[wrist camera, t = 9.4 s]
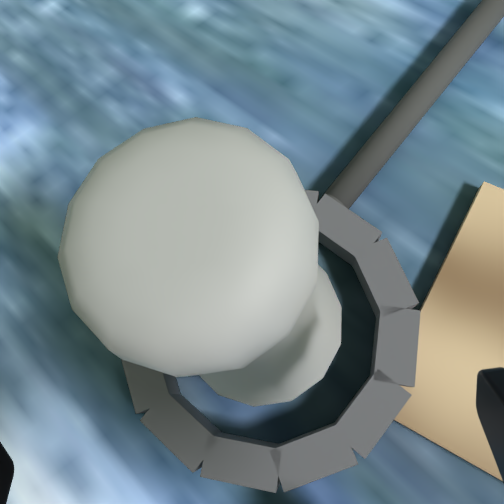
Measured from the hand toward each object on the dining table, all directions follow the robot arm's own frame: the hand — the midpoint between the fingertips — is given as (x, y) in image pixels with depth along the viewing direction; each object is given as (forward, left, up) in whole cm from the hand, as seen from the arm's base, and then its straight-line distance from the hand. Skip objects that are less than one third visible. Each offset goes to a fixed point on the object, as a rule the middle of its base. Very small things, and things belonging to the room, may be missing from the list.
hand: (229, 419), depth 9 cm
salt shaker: (+2, +2, -10) cm, 11 cm away
